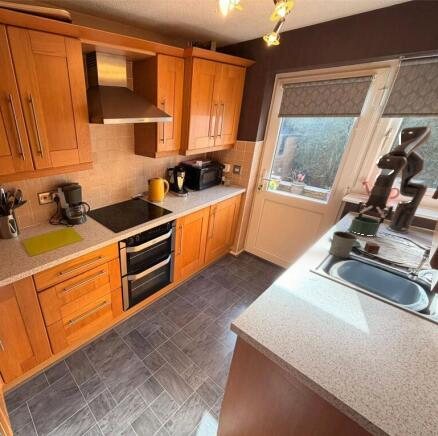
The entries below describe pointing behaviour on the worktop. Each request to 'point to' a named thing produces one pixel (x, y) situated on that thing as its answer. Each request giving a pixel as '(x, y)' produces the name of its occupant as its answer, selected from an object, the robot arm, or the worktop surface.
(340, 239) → the grey cup
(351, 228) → the tin
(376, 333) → the worktop surface
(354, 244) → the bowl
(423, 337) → the worktop surface
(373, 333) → the worktop surface
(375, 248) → the block
